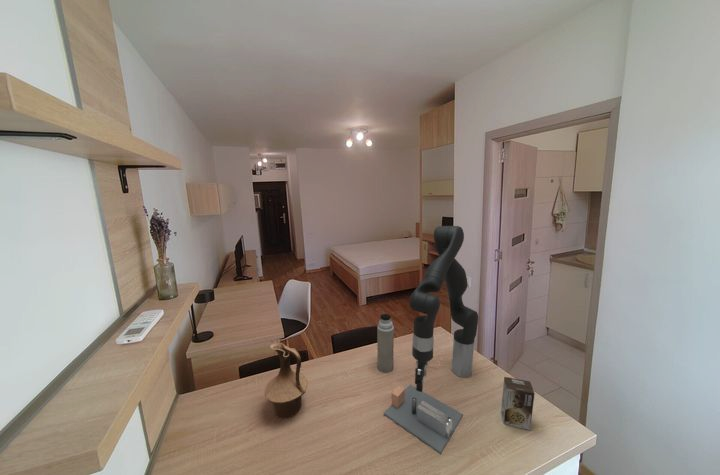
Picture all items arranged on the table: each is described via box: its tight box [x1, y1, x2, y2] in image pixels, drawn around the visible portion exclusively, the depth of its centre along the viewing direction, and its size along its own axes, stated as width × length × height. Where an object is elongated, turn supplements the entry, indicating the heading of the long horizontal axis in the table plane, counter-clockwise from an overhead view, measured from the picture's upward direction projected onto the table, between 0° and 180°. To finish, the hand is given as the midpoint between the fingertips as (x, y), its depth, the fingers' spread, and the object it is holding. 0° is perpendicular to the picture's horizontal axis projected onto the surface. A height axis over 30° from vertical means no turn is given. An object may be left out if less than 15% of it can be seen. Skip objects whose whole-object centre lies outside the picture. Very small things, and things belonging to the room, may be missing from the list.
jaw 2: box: [417, 405, 450, 438], centre depth 99 cm, size 12×2×6 cm, turn 49°
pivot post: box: [412, 397, 417, 414], centre depth 105 cm, size 2×2×6 cm
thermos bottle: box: [376, 313, 395, 374], centre depth 130 cm, size 8×8×28 cm
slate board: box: [383, 384, 464, 455], centre depth 105 cm, size 20×24×1 cm
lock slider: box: [391, 385, 406, 408], centre depth 110 cm, size 3×5×6 cm, turn 138°
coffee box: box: [500, 376, 535, 431], centre depth 101 cm, size 9×6×16 cm
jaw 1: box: [420, 401, 453, 434], centre depth 100 cm, size 12×2×6 cm, turn 48°
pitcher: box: [264, 342, 309, 419], centre depth 107 cm, size 18×17×28 cm
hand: (421, 382), depth 101 cm, fingers open, 8 cm apart
